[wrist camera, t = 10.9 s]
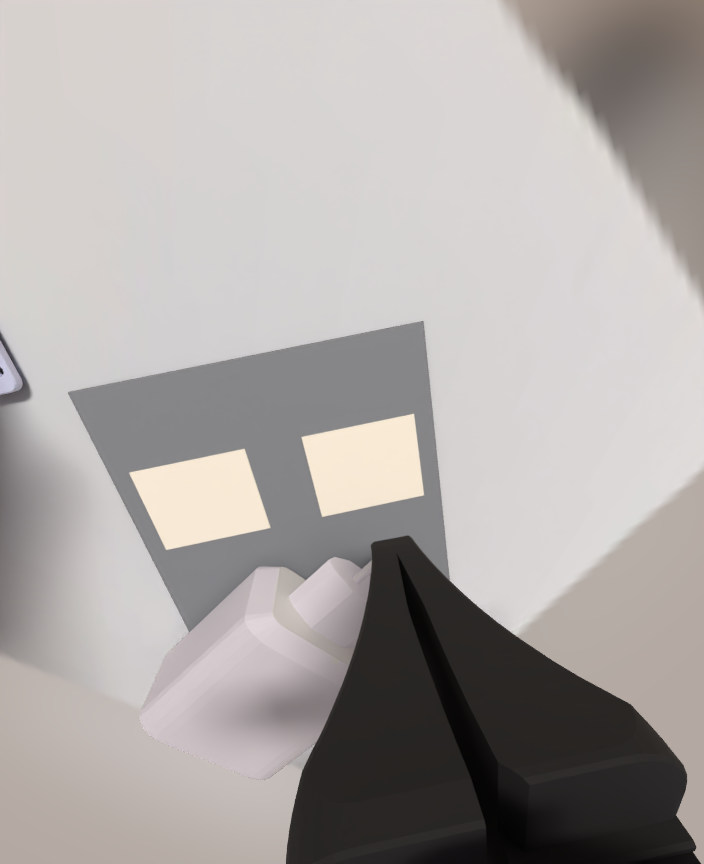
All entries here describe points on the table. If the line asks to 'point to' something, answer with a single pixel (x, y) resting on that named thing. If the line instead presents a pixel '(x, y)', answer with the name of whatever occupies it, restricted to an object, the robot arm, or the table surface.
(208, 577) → the label mat
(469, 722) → the robot arm
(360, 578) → the charger
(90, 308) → the table surface
